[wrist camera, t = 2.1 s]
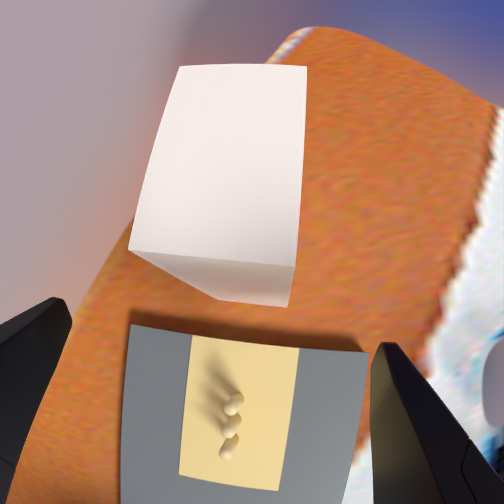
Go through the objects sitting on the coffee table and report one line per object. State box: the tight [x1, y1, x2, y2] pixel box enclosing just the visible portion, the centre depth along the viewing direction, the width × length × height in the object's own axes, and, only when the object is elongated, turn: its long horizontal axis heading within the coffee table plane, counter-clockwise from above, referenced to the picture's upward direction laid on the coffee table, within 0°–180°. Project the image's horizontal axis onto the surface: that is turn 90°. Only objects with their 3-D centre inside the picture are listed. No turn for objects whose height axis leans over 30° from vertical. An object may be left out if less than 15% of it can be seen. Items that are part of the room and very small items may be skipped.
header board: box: [121, 324, 369, 504], centre depth 15 cm, size 15×14×4 cm
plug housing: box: [128, 64, 307, 308], centre depth 14 cm, size 6×4×12 cm, turn 173°
